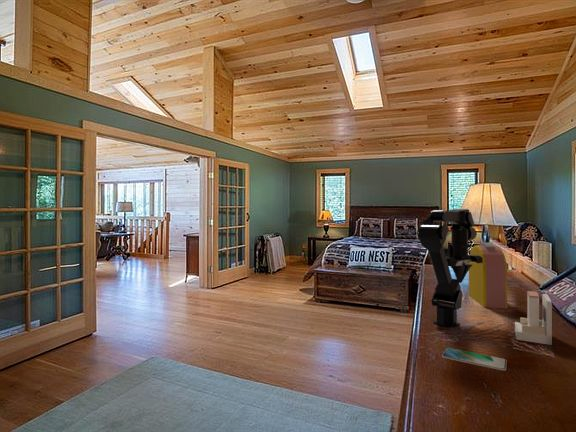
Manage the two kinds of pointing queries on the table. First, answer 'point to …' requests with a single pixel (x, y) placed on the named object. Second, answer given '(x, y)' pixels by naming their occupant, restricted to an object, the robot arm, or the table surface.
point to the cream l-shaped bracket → (537, 333)
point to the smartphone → (475, 359)
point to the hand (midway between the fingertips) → (459, 282)
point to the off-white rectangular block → (532, 308)
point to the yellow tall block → (488, 276)
